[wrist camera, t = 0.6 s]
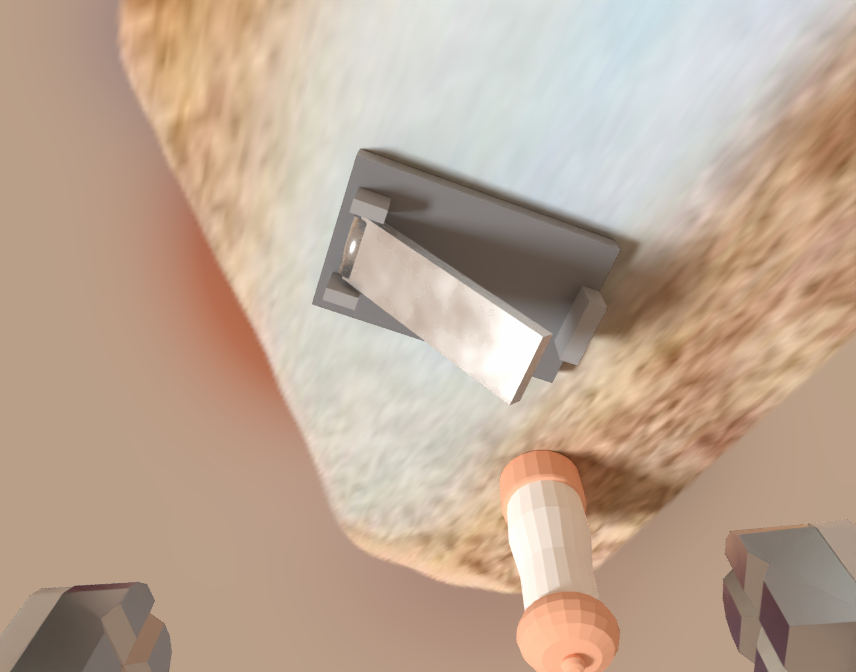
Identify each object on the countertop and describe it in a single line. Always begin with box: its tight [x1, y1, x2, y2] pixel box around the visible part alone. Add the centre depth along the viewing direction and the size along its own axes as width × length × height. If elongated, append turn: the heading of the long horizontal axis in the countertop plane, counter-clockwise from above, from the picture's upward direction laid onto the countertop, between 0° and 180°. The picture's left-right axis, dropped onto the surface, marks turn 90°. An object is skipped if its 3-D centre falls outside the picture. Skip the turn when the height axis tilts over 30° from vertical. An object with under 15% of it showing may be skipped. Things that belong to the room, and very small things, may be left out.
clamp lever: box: [337, 214, 553, 405], centre depth 44 cm, size 5×17×2 cm
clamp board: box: [312, 149, 621, 383], centre depth 49 cm, size 12×20×5 cm, turn 71°
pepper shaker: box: [500, 450, 620, 672], centre depth 52 cm, size 7×7×19 cm
